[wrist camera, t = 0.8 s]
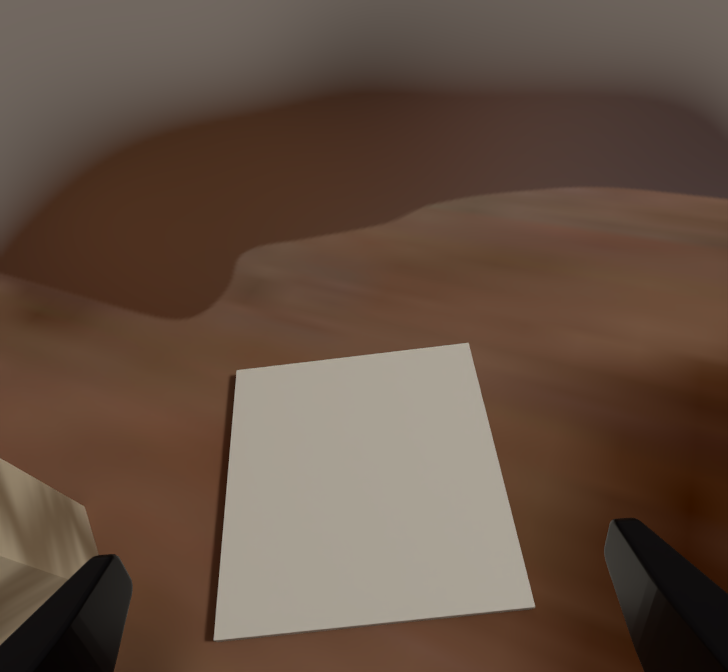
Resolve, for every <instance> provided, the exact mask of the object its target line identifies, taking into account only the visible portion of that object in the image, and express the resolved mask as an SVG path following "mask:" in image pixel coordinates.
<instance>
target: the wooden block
mask: <svg viewBox="0 0 728 672" xmlns="http://www.w3.org/2000/svg"><path fill="white" fill-rule="evenodd" d="M97 555H99V554H98V551H97V548H96V544H95V541H94V537H93V534H92V530H91V527H90V524H89V520H88V517H87V513H86V510H85V507H84V506H82V505H81V504H79V503H77V502H75V501H74V500H72V499H70V498H68V497H67V496H65V495H63V494H61V493H60V492H58V491H56V490H55V489H53V488H51V487H49V486H48V485H46V484H44V483H42V482H41V481H39V480H37V479H35V478H34V477H32V476H30V475H28V474H27V473H25V472H23V471H21V470H20V469H18V468H16V467H15V466H13V465H11V464H9V463H8V462H6V461H4V460H2V459H1V458H0V645H1V644H2V643H3V642H4V641H5V640H6V639H7V638H8V637H9V636H10V635H11V634H12V633H13V632H14V631H15V630H16V629H17V628H18V627H19V626H20V625H22V624H23V623H24V622H25V621H26V620H27V619H28V618H29V617H30V616H31V615H32V614H33V613H34V612H35V611H36V610H37V609H38V608H39V607H40V606H41V605H42V604H43V603H44V602H45V601H46V600H47V599H49V598H50V597H51V596H52V595H53V594H54V593H55V592H56V591H57V590H58V589H59V588H60V587H61V586H62V585H63V584H64V583H65V582H66V581H67V580H68V579H69V578H70V577H71V576H72V575H73V574H74V573H75V572H77V571H78V570H79V569H80V568H81V567H82V566H83V565H84V564H85V563H86V562H87V561H88V560H89V559H91V558H92V557H94V556H97Z"/></svg>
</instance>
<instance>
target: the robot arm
mask: <svg viewBox="0 0 728 672" xmlns="http://www.w3.org/2000/svg"><path fill="white" fill-rule="evenodd" d="M604 554H605V560H606V563H607V566H608V569H609V572H610V575H611V578H612V581H613V584H614V587H615V591H616V594H617V597H618V600H619V603H620V606H621V609H622V612H623V615H624V618H625V621H626V624H627V627H628V630H629V633H630V636H631V639H632V642H633V644H634V647H635V650H636V653H637V655H638V657H639V660H640V662H641V665H642V667H643V669H644V672H728V594H727V593H726V592H725V591H724V590H723V589H721V588H720V587H719V586H718V585H717V584H715V583H714V582H713V581H712V580H711V579H709V578H708V577H707V576H706V575H705V574H703V573H702V572H701V571H700V570H699V569H697V568H696V567H695V566H694V565H693V564H691V563H690V562H689V561H688V560H687V559H685V558H684V557H683V556H682V555H681V554H679V553H678V552H677V551H676V550H675V549H673V548H672V547H671V546H670V545H669V544H667V543H666V542H665V541H664V540H663V539H661V538H660V537H659V536H658V535H657V534H655V533H654V532H653V531H652V530H651V529H649V528H648V527H647V526H646V525H645V524H643V523H642V522H641V521H639V520H638V519H635V518H620V519H613V520H612V521H611V522H610V525H609V529H608V534H607V538H606V543H605V548H604ZM131 596H132V580H131V578H130V576H129V574H128V572H127V571H126V569H125V567H124V565H123V563H122V562H121V560H120V558H119V557H118V556H117V555H115V554H108V555H97V556H94V557H92V558H91V559H89V560H88V561H87V562H86V563H85V564H84V565H83V566H82V567H81V568H80V569H79V570H78V571H77V572H75V573H74V574H73V575H72V576H71V577H70V578H69V579H68V580H67V581H66V582H65V583H64V584H63V585H62V586H61V587H60V588H59V589H58V590H57V591H56V592H55V593H54V594H53V595H52V596H51V597H50V598H49V599H47V600H46V601H45V602H44V603H43V604H42V605H41V606H40V607H39V608H38V609H37V610H36V611H35V612H34V613H33V614H32V615H31V616H30V617H29V618H28V619H27V620H26V621H25V622H24V623H23V624H22V625H20V626H19V627H18V628H17V629H16V630H15V631H14V632H13V633H12V634H11V635H10V636H9V637H8V638H7V639H6V640H5V641H4V642H3V643H2V644H1V645H0V672H114V668H115V664H116V659H117V655H118V651H119V647H120V642H121V638H122V634H123V630H124V625H125V621H126V617H127V613H128V608H129V604H130V600H131Z"/></svg>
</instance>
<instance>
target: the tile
mask: <svg viewBox="0 0 728 672" xmlns="http://www.w3.org/2000/svg"><path fill="white" fill-rule="evenodd" d="M533 608H535V604H534V600H533V596H532V592H531V588H530V584H529V580H528V576H527V572H526V568H525V565H524V561H523V557H522V553H521V549H520V545H519V541H518V537H517V533H516V529H515V525H514V521H513V517H512V513H511V509H510V505H509V501H508V497H507V493H506V489H505V486H504V482H503V478H502V474H501V470H500V466H499V462H498V458H497V454H496V450H495V446H494V442H493V438H492V434H491V430H490V426H489V422H488V418H487V414H486V410H485V407H484V403H483V399H482V395H481V391H480V387H479V383H478V379H477V375H476V371H475V367H474V363H473V359H472V355H471V351H470V347H469V343H463V344H455V345H446V346H438V347H430V348H421V349H413V350H404V351H396V352H388V353H379V354H371V355H362V356H354V357H346V358H337V359H329V360H320V361H312V362H303V363H295V364H287V365H278V366H270V367H261V368H253V369H245V370H237V373H236V384H235V396H234V408H233V419H232V431H231V443H230V454H229V466H228V478H227V490H226V501H225V513H224V525H223V536H222V548H221V560H220V571H219V583H218V595H217V606H216V618H215V630H214V641H217V642H222V641H231V640H241V639H251V638H260V637H270V636H279V635H289V634H298V633H308V632H318V631H327V630H337V629H346V628H356V627H366V626H375V625H385V624H394V623H404V622H414V621H423V620H433V619H442V618H452V617H462V616H471V615H481V614H490V613H500V612H510V611H519V610H529V609H533Z"/></svg>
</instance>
